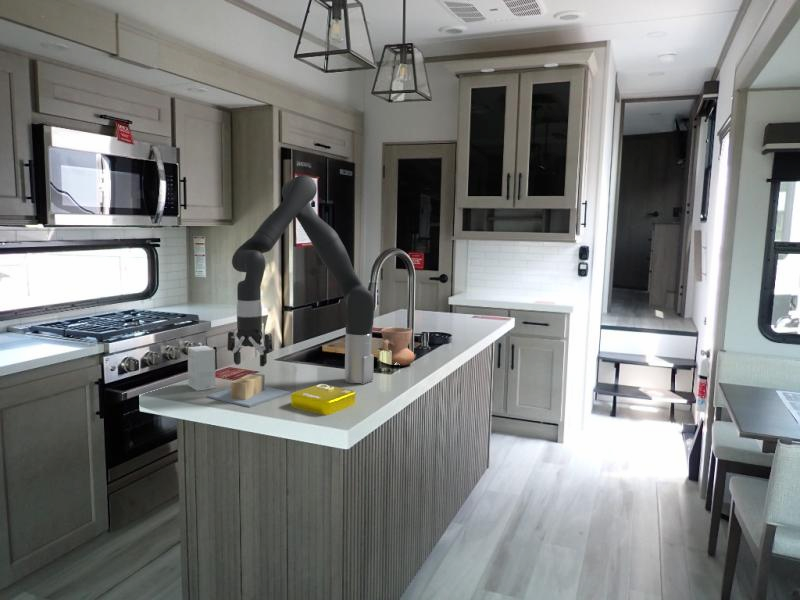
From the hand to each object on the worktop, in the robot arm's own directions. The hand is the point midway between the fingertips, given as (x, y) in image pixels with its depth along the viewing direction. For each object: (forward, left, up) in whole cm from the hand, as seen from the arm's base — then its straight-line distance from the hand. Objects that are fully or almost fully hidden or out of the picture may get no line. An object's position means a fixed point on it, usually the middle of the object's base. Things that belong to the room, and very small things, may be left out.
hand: (250, 365), depth 186 cm
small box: (+20, +2, -10) cm, 22 cm away
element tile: (-24, -6, -11) cm, 27 cm away
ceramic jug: (-15, -65, -10) cm, 68 cm away
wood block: (-1, +6, -7) cm, 9 cm away
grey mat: (+1, 0, -10) cm, 10 cm away
